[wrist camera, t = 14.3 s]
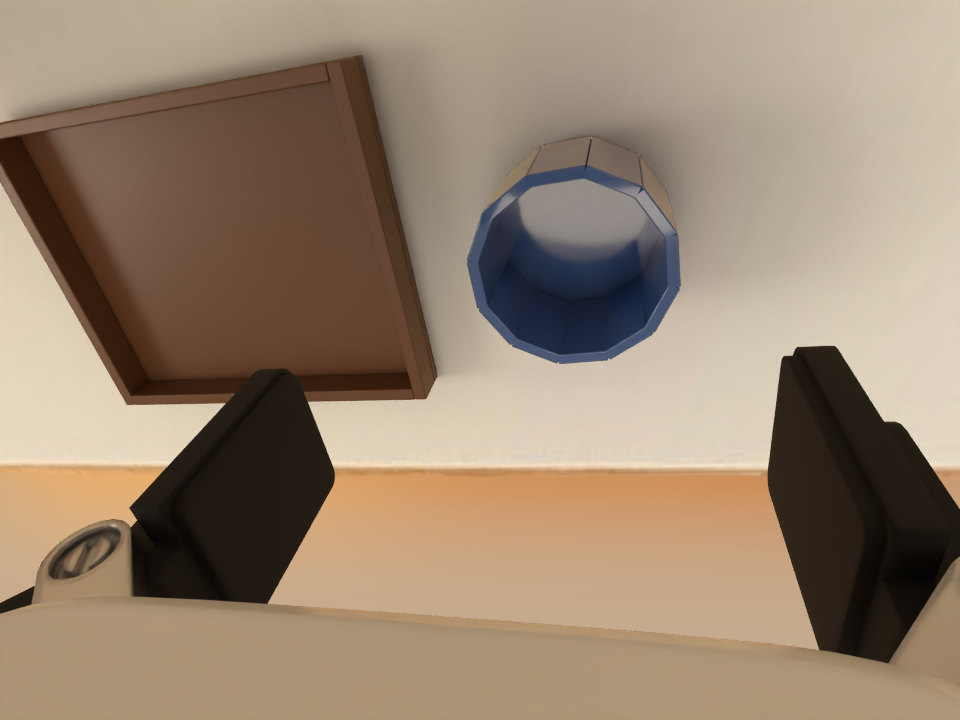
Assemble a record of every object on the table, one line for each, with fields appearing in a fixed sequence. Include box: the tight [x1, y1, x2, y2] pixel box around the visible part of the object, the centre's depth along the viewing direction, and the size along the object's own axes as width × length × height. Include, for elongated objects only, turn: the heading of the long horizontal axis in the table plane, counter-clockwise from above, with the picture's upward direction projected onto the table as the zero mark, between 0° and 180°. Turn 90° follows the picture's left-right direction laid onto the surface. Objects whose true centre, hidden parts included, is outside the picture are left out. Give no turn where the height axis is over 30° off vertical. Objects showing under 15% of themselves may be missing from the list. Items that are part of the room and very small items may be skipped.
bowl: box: [467, 136, 681, 364], centre depth 21 cm, size 7×7×5 cm
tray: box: [0, 56, 437, 405], centre depth 26 cm, size 17×14×2 cm
